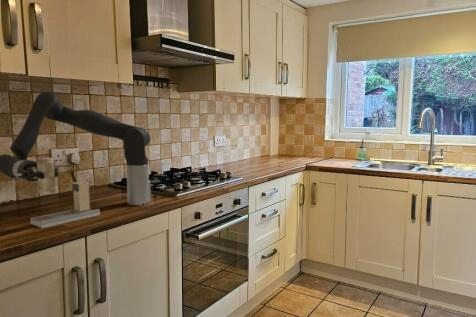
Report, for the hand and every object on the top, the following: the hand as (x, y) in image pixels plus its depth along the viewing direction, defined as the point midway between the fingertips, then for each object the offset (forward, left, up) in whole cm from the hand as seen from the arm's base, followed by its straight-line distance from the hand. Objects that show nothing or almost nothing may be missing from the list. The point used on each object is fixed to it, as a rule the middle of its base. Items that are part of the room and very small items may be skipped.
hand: (50, 174), depth 128 cm
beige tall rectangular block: (0, -3, -6) cm, 7 cm away
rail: (-7, -3, -18) cm, 19 cm away
